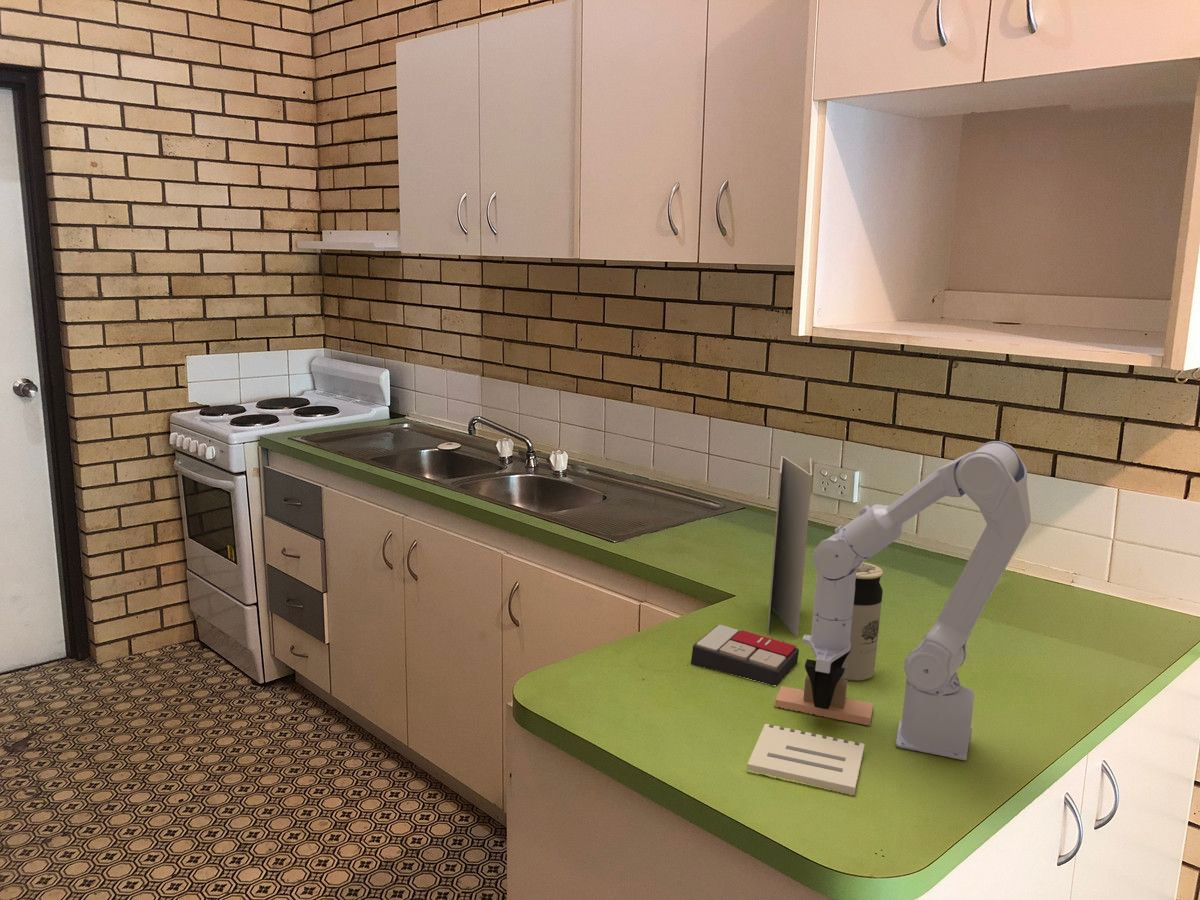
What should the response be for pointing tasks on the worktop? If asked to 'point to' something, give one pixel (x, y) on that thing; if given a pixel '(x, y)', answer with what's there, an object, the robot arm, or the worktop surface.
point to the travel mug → (864, 623)
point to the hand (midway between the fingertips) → (824, 697)
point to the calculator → (745, 654)
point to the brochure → (790, 543)
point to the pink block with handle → (838, 707)
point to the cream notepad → (808, 758)
